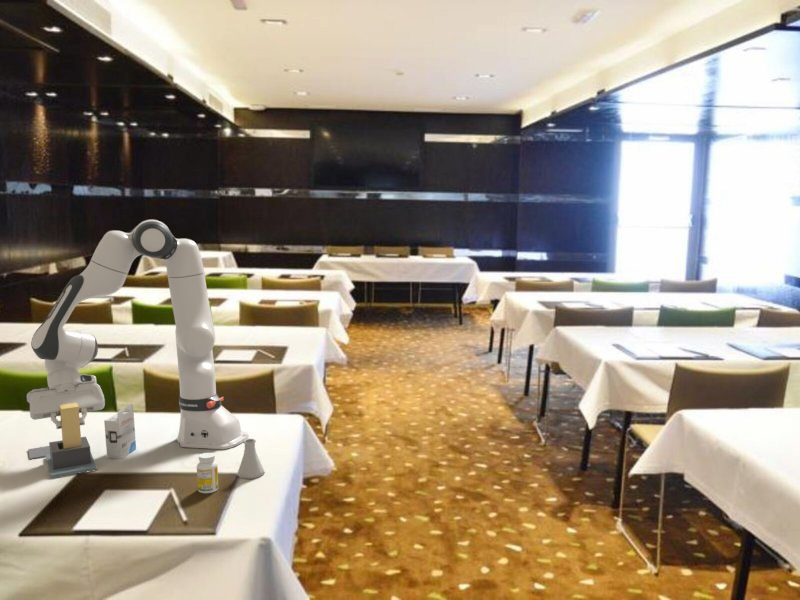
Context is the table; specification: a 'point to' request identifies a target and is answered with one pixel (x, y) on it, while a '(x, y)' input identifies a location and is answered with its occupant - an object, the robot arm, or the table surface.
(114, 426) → the ink box
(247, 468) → the flask
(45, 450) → the pad
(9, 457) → the table surface
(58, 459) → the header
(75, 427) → the plug
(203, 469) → the supplement bottle
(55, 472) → the board
